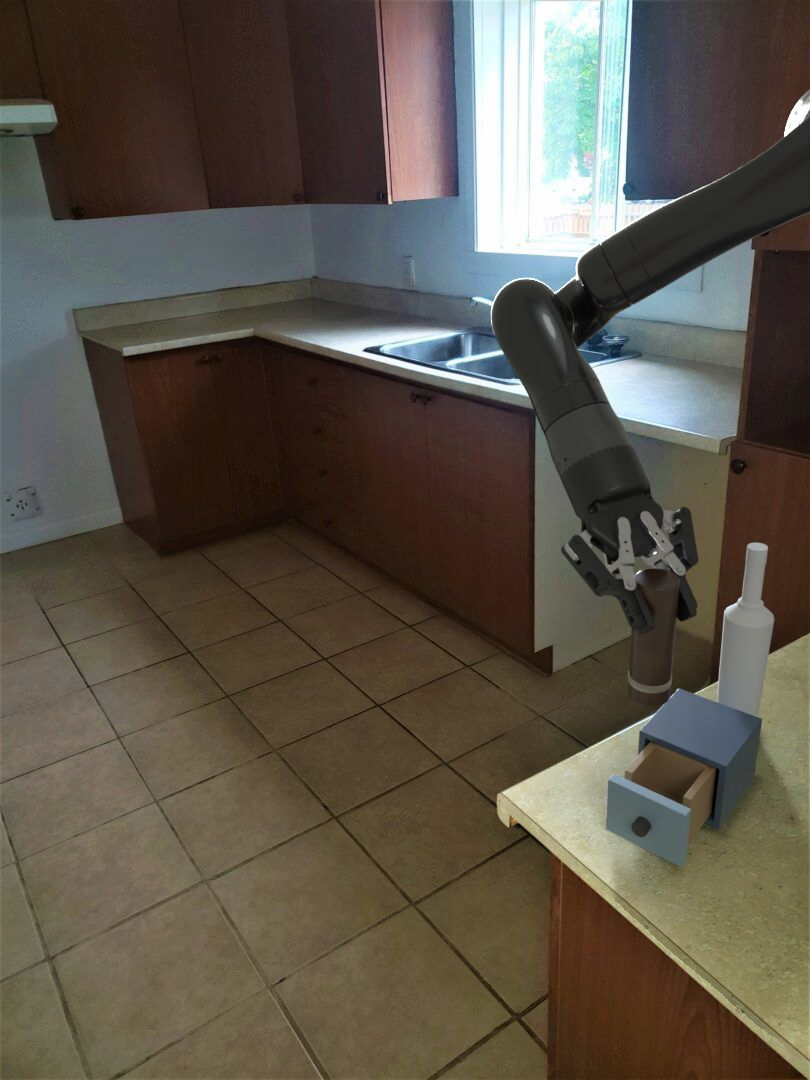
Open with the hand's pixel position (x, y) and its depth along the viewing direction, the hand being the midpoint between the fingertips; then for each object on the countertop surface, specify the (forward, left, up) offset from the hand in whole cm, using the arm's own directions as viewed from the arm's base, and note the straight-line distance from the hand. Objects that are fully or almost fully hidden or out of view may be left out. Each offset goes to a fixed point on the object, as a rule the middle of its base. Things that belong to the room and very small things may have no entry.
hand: (668, 623), depth 75 cm
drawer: (0, +1, -24) cm, 24 cm away
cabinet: (-8, -3, -25) cm, 26 cm away
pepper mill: (0, -2, -9) cm, 9 cm away
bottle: (-18, -8, -25) cm, 32 cm away
